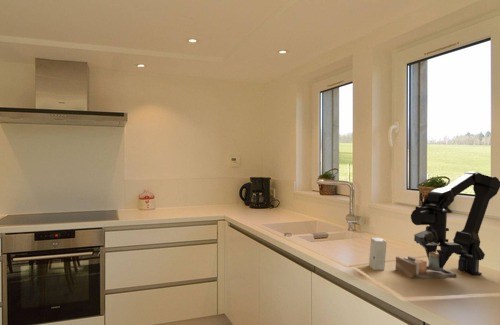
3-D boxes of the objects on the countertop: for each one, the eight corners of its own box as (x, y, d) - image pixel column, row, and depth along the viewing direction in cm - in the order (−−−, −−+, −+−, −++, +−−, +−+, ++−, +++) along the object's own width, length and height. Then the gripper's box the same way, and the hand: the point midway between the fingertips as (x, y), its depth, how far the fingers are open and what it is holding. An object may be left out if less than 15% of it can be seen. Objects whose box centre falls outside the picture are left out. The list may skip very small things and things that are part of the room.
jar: (420, 271, 135) (420, 259, 135) (429, 275, 130) (429, 263, 130) (408, 271, 134) (408, 259, 134) (417, 275, 129) (417, 263, 129)
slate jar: (436, 267, 136) (437, 251, 136) (446, 271, 131) (447, 255, 131) (425, 267, 135) (425, 251, 135) (434, 271, 130) (435, 255, 130)
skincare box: (368, 267, 140) (369, 237, 140) (379, 268, 140) (380, 237, 140) (373, 272, 134) (375, 240, 134) (385, 273, 134) (386, 241, 134)
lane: (436, 270, 139) (436, 255, 139) (455, 279, 129) (456, 263, 129) (395, 272, 136) (396, 256, 135) (412, 281, 126) (413, 264, 126)
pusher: (405, 270, 135) (406, 254, 135) (418, 276, 128) (419, 260, 128) (403, 270, 135) (404, 254, 135) (416, 276, 128) (416, 260, 127)
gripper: (403, 220, 141) (401, 259, 141) (436, 229, 122) (435, 274, 123) (427, 220, 143) (426, 258, 143) (464, 229, 125) (462, 273, 125)
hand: (436, 265), depth 133 cm, fingers closed on slate jar, 5 cm apart
